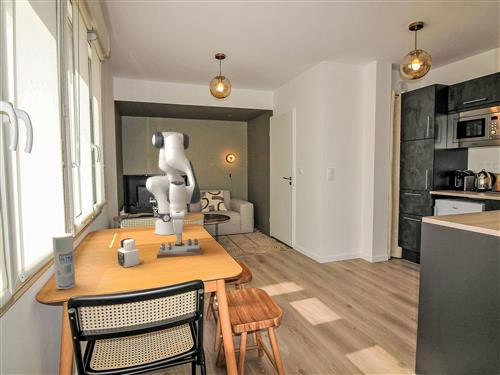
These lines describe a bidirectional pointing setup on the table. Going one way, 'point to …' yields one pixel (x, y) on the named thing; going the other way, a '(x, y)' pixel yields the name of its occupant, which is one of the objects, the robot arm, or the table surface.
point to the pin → (179, 243)
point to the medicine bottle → (128, 253)
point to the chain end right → (188, 246)
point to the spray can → (64, 260)
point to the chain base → (179, 254)
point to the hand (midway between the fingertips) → (179, 238)
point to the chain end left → (169, 249)
